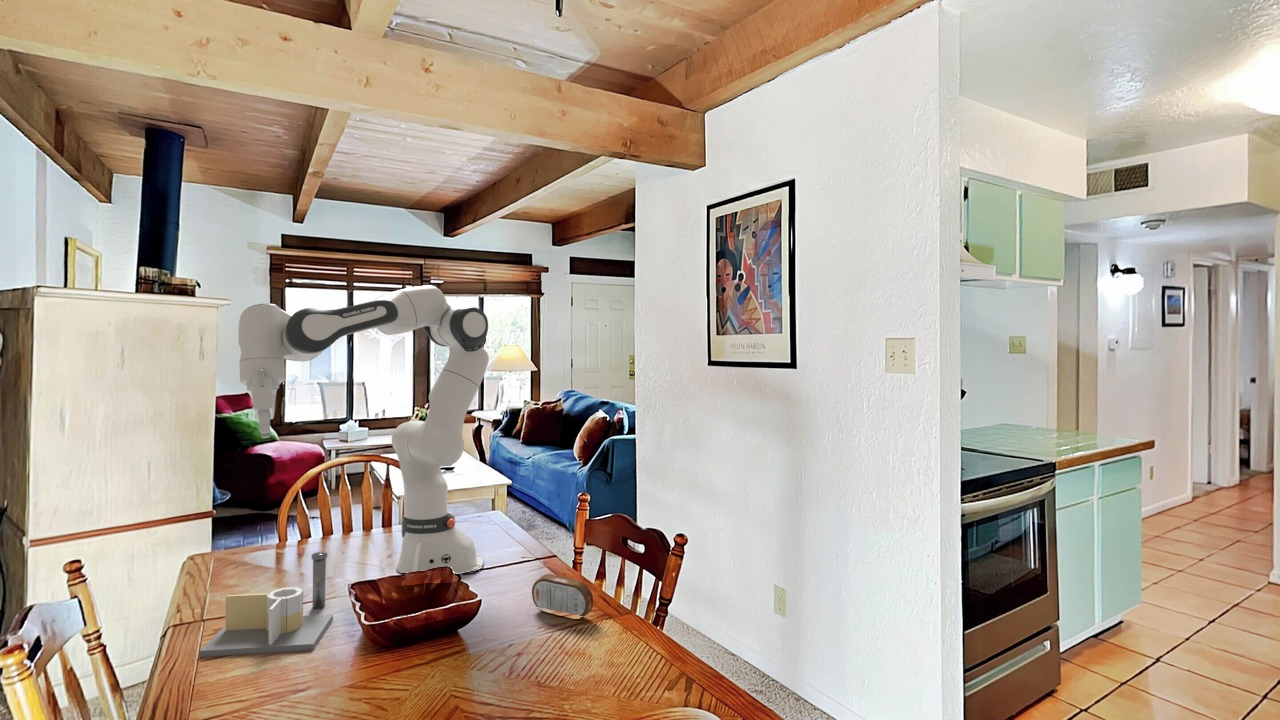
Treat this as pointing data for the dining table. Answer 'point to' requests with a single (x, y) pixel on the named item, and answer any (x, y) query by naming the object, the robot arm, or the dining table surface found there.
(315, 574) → the hinge pin
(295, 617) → the hinge
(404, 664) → the dining table surface
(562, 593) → the tin
